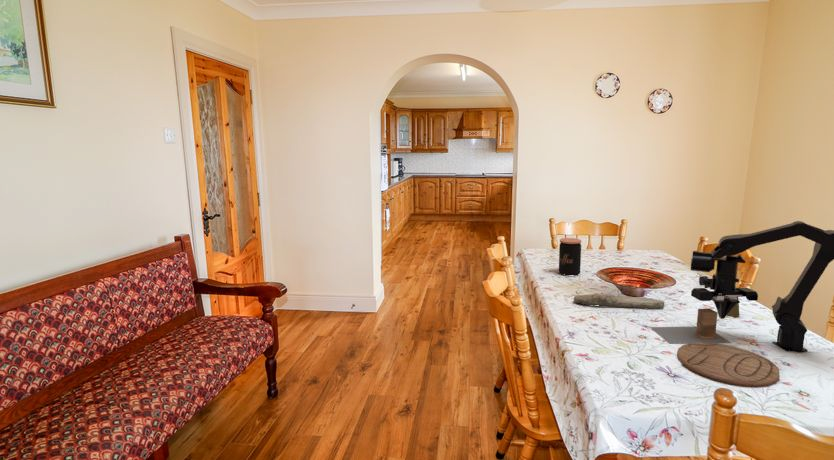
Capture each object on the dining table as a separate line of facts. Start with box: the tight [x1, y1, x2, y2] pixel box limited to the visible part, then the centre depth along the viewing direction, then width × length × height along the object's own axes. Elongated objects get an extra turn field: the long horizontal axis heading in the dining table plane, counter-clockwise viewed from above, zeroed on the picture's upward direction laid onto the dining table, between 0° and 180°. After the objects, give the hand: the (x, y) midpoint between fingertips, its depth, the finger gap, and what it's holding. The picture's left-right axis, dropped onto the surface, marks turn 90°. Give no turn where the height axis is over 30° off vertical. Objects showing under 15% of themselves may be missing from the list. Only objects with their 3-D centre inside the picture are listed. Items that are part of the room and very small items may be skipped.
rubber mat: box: [649, 326, 732, 345], centre depth 153 cm, size 14×20×1 cm
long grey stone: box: [573, 293, 665, 310], centre depth 184 cm, size 35×5×10 cm
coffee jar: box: [558, 237, 582, 276], centre depth 230 cm, size 11×11×18 cm
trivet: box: [676, 342, 780, 388], centre depth 132 cm, size 25×25×2 cm
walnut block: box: [696, 308, 718, 338], centre depth 151 cm, size 4×4×9 cm
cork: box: [726, 287, 740, 318], centre depth 169 cm, size 6×6×11 cm
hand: (721, 318), depth 150 cm, fingers closed
